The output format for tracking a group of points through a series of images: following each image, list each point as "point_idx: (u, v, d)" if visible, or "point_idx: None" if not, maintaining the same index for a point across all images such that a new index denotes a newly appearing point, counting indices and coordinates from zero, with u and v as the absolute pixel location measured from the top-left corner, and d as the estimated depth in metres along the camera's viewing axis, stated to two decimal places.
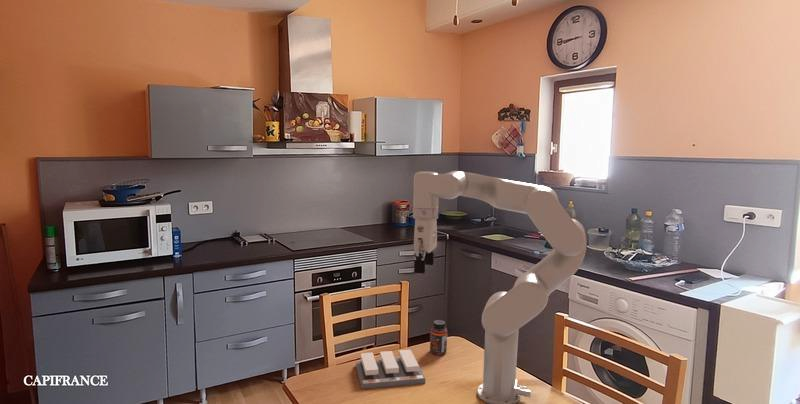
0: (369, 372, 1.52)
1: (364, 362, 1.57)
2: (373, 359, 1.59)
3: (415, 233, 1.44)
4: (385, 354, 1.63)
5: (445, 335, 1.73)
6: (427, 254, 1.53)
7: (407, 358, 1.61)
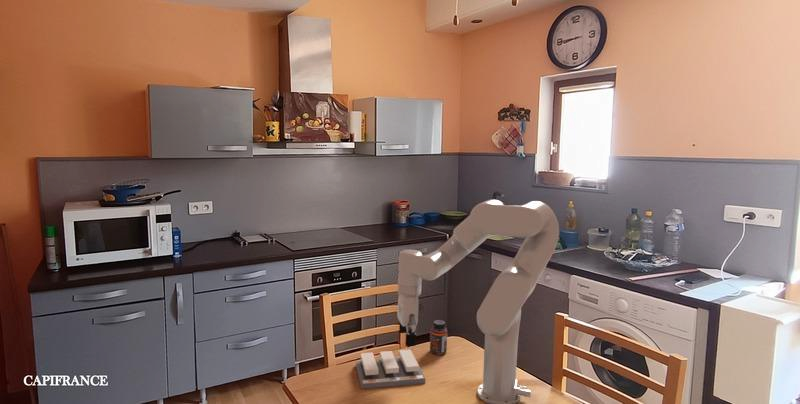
0: (369, 372, 1.52)
1: (364, 362, 1.57)
2: (373, 359, 1.59)
3: None
4: (385, 354, 1.63)
5: (445, 335, 1.73)
6: None
7: (407, 358, 1.61)
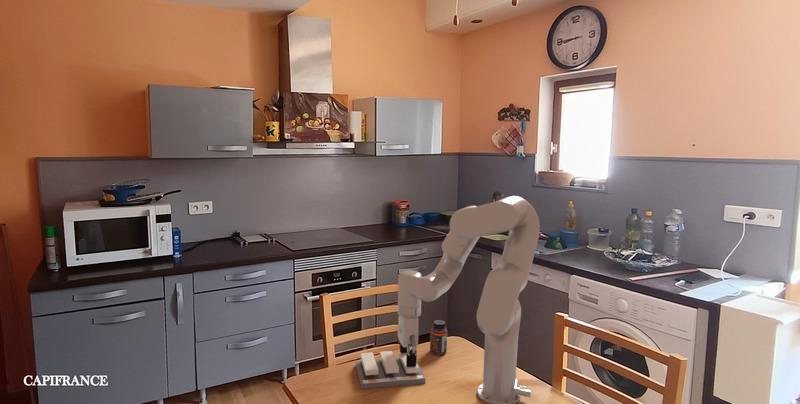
0: (369, 372, 1.52)
1: (364, 362, 1.57)
2: (373, 359, 1.59)
3: None
4: (385, 354, 1.63)
5: (445, 335, 1.73)
6: None
7: None
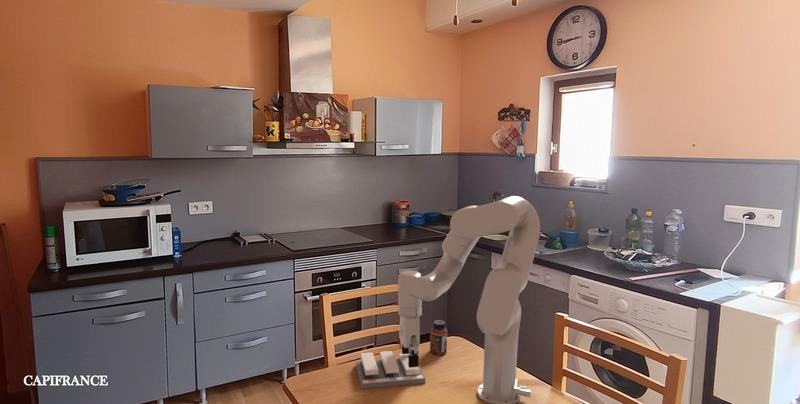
0: (369, 372, 1.52)
1: (364, 362, 1.57)
2: (373, 359, 1.59)
3: None
4: (385, 354, 1.63)
5: (445, 335, 1.73)
6: None
7: (407, 361, 1.61)
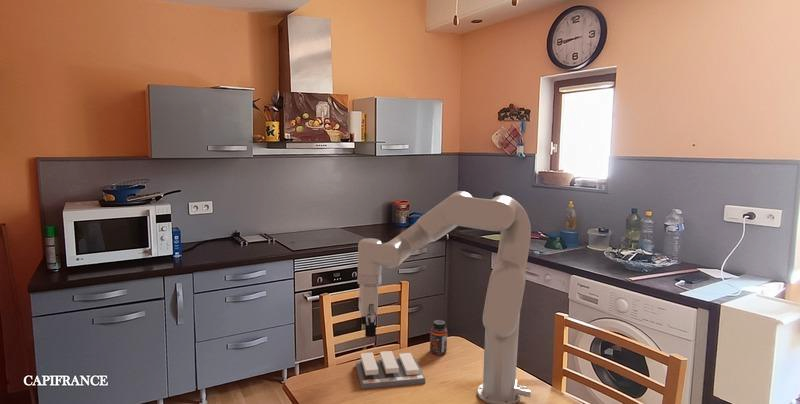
0: (369, 372, 1.52)
1: (364, 362, 1.57)
2: (373, 359, 1.59)
3: None
4: (385, 354, 1.63)
5: (445, 335, 1.73)
6: None
7: (407, 361, 1.61)
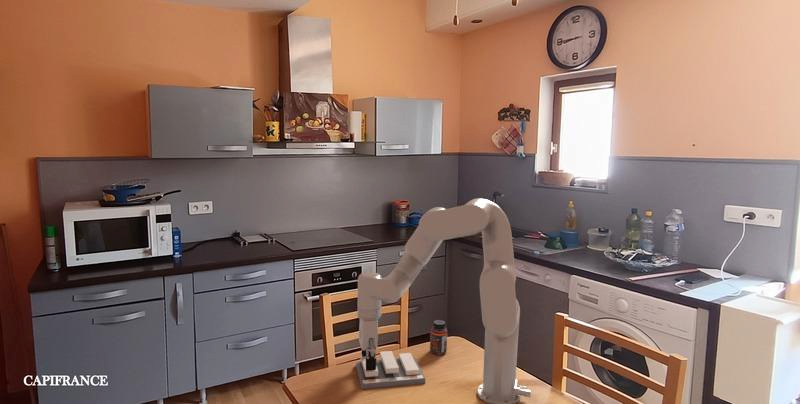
0: (369, 374, 1.52)
1: (364, 364, 1.57)
2: None
3: None
4: (385, 354, 1.63)
5: (445, 335, 1.73)
6: None
7: (407, 361, 1.61)
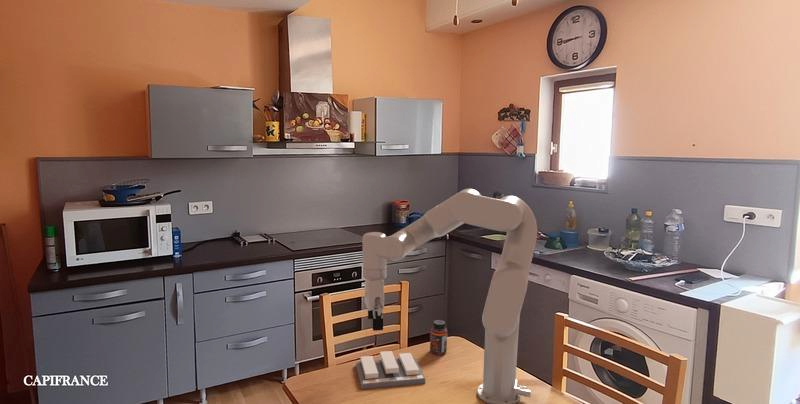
0: (369, 376, 1.53)
1: (364, 366, 1.57)
2: (373, 363, 1.60)
3: None
4: (385, 354, 1.63)
5: (445, 335, 1.73)
6: None
7: (407, 361, 1.61)
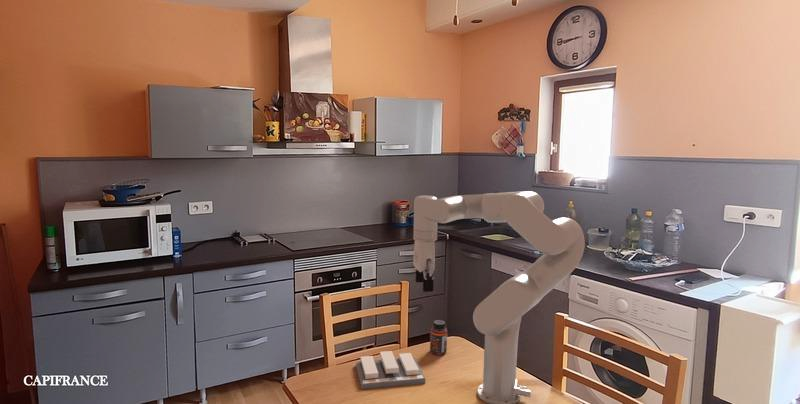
0: (369, 376, 1.53)
1: (364, 366, 1.57)
2: (373, 363, 1.60)
3: None
4: (385, 354, 1.63)
5: (445, 335, 1.73)
6: None
7: (407, 361, 1.61)
